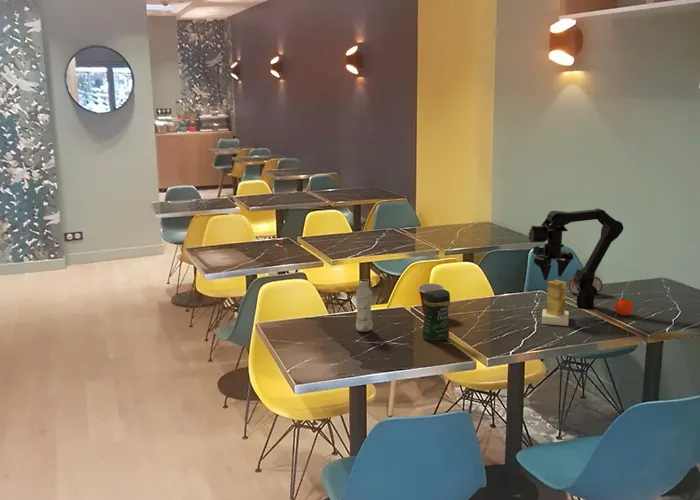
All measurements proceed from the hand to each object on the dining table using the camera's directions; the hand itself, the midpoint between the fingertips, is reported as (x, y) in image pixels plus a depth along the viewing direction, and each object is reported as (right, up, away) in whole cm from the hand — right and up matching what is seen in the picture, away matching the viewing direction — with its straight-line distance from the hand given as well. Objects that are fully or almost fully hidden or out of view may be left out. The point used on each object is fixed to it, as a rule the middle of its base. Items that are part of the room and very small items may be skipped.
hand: (552, 278), depth 297 cm
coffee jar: (-53, -21, -33) cm, 65 cm away
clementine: (+27, -15, -7) cm, 32 cm away
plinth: (-3, -16, -14) cm, 22 cm away
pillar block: (-3, -13, -14) cm, 20 cm away
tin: (+21, -8, +23) cm, 32 cm away
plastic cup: (-52, -15, -5) cm, 54 cm away
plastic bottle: (-79, -19, -24) cm, 85 cm away
